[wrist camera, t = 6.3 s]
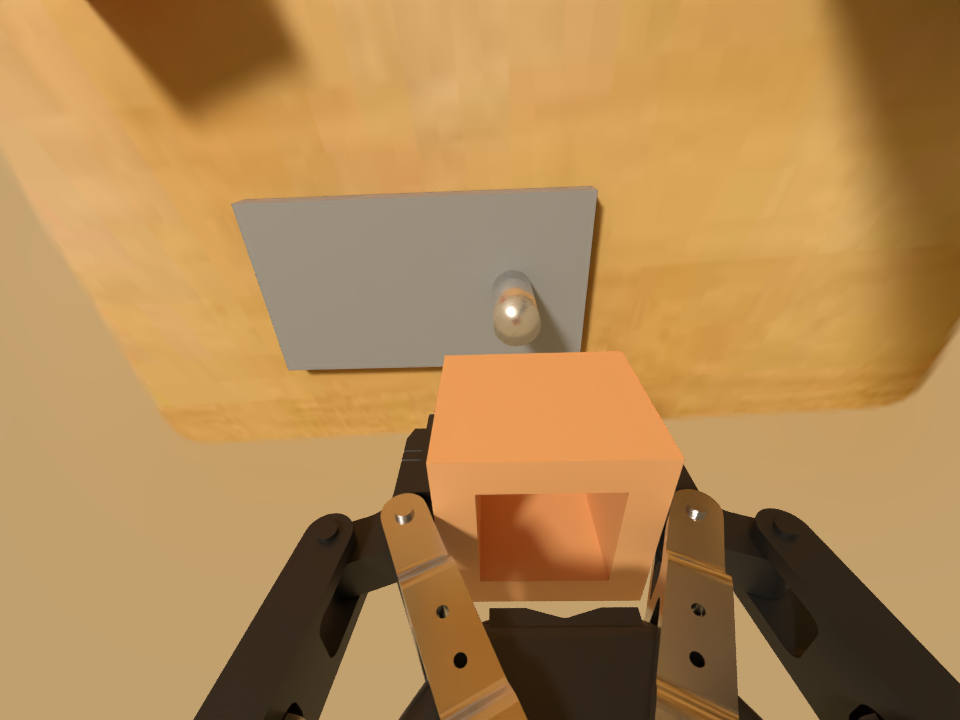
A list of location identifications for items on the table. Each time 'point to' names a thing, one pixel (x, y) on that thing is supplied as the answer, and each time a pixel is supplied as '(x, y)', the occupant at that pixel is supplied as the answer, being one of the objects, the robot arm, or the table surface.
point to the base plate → (416, 272)
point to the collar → (549, 475)
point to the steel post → (515, 309)
